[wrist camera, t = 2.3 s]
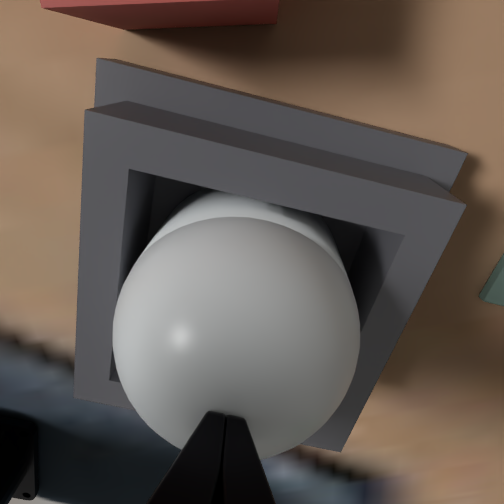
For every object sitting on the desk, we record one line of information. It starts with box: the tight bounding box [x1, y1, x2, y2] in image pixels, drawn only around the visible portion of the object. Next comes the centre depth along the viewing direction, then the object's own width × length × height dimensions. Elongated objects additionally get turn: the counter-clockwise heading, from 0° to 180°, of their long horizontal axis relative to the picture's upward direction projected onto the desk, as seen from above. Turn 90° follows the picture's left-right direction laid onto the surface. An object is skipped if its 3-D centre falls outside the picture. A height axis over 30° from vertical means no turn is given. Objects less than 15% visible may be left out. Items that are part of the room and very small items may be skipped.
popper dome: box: [113, 188, 360, 460], centre depth 11 cm, size 7×7×7 cm
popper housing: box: [74, 58, 468, 452], centre depth 14 cm, size 12×12×4 cm
